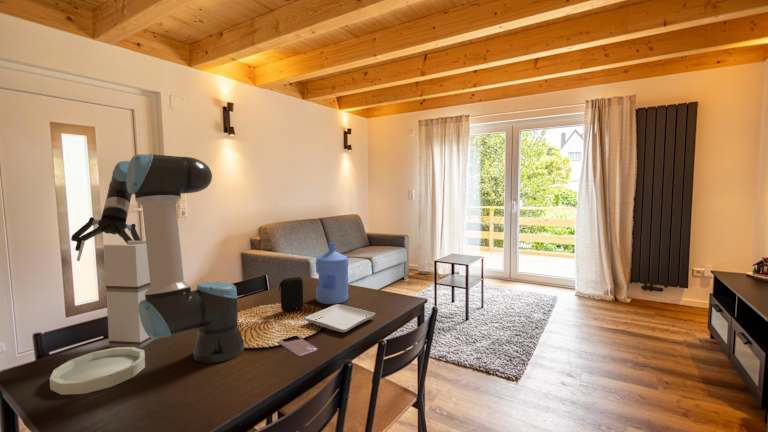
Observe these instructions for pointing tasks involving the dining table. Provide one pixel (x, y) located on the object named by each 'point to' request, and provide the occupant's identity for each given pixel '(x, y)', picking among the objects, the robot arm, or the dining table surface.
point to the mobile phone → (297, 345)
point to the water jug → (332, 277)
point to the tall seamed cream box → (126, 293)
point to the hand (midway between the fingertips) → (103, 261)
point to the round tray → (97, 370)
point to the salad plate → (340, 317)
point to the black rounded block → (291, 294)
